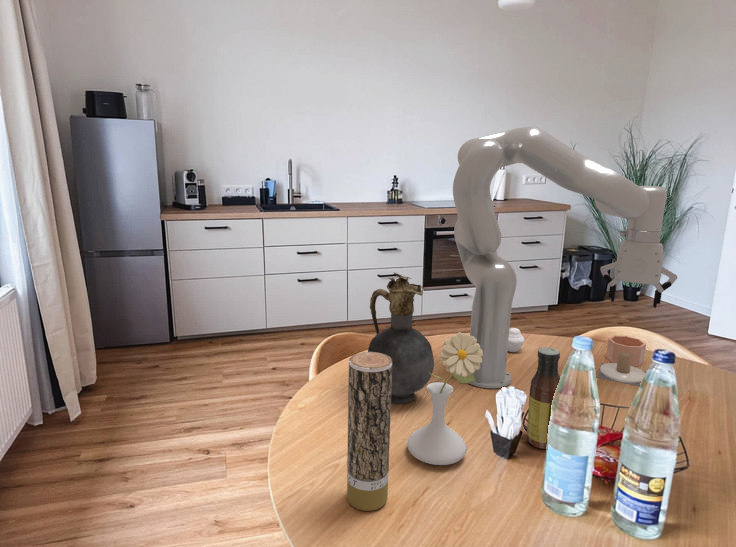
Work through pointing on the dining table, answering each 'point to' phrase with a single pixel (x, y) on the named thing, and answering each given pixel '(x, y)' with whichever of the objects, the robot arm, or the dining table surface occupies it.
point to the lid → (622, 370)
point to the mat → (613, 380)
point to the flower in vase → (437, 437)
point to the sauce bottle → (542, 396)
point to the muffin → (515, 340)
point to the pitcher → (402, 341)
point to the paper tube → (368, 429)
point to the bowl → (626, 349)
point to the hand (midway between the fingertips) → (633, 303)
